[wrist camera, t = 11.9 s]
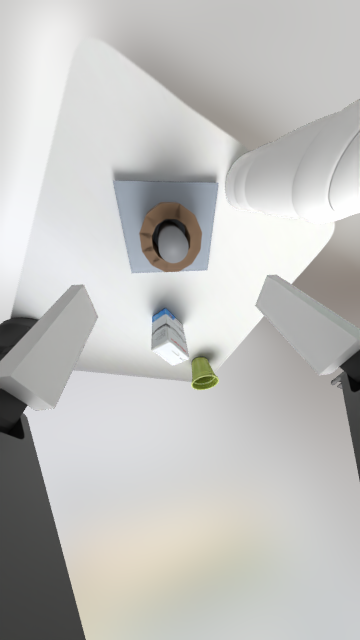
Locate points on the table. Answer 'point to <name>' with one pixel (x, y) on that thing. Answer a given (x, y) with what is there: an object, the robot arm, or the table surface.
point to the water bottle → (303, 172)
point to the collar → (191, 233)
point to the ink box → (168, 338)
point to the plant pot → (203, 374)
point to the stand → (170, 232)
